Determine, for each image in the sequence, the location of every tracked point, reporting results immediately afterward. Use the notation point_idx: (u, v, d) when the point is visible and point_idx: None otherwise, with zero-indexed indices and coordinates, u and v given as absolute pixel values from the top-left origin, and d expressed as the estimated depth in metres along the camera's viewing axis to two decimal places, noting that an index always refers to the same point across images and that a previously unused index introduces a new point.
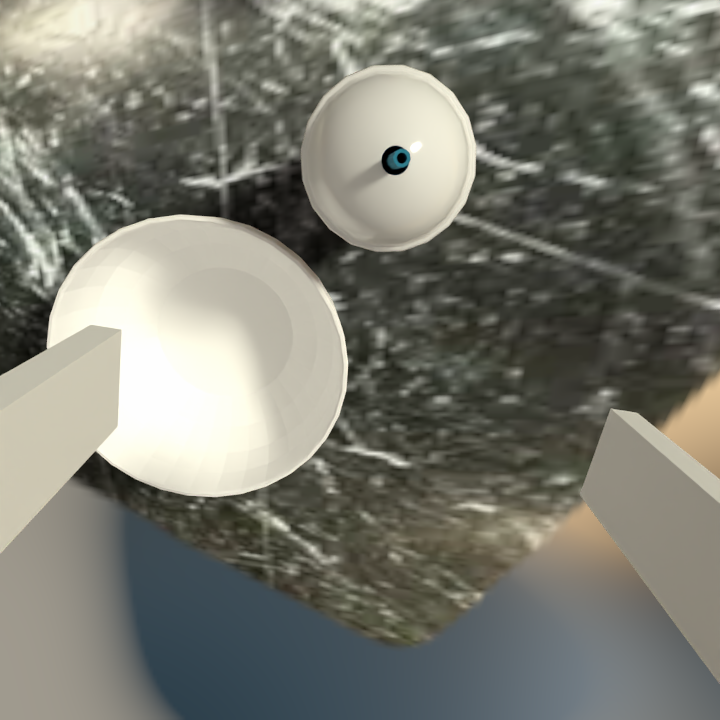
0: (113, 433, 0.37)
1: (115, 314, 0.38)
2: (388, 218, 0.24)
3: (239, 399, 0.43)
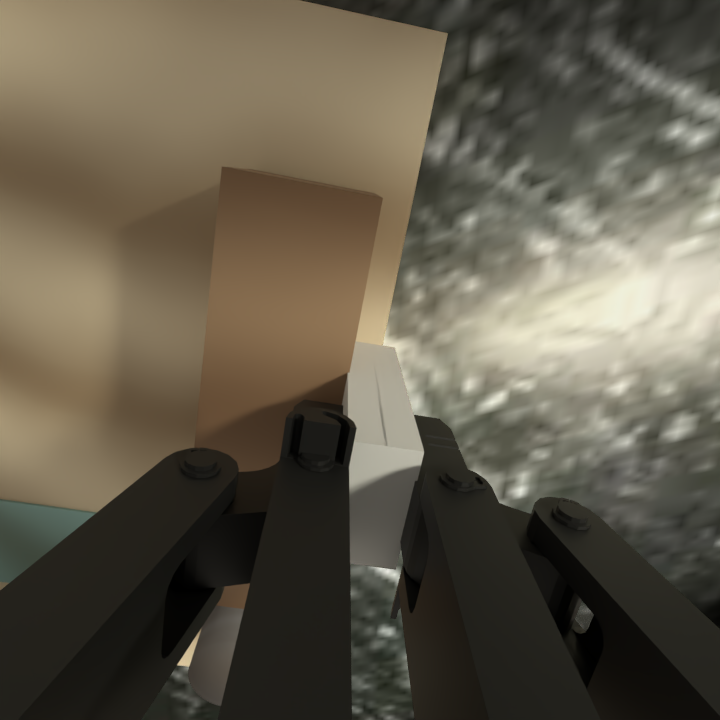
0: None
1: None
2: None
3: None
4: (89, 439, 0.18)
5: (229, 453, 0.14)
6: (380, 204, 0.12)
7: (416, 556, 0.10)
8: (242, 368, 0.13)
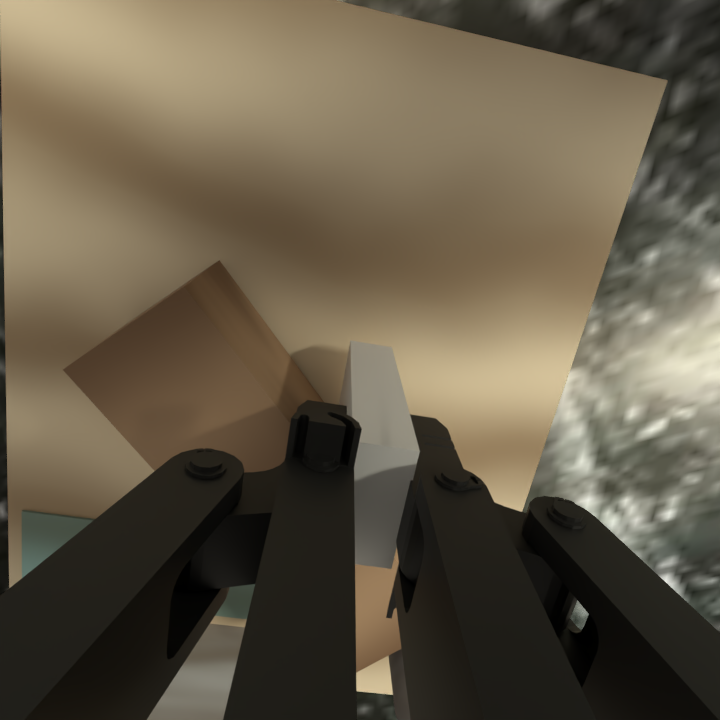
0: None
1: None
2: None
3: None
4: None
5: None
6: (186, 292, 0.12)
7: (411, 556, 0.10)
8: None
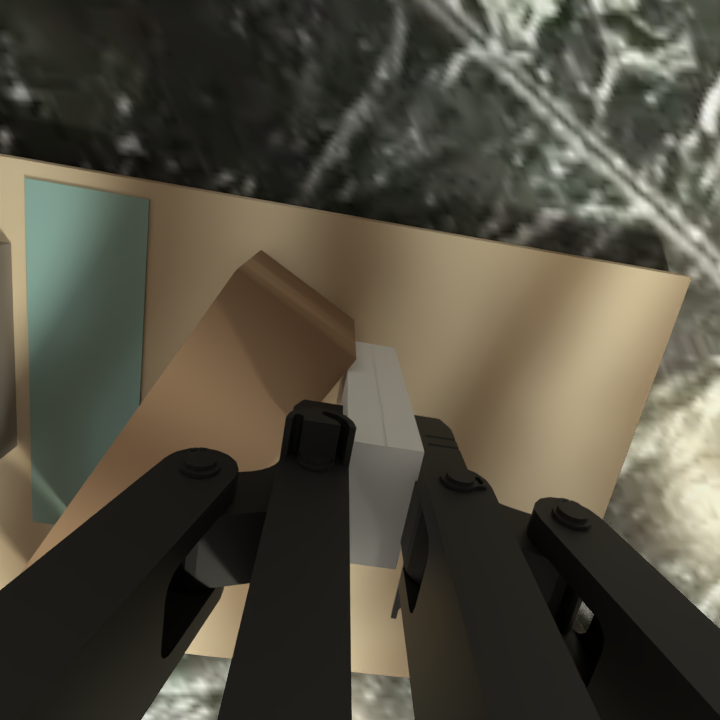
0: None
1: None
2: None
3: None
4: None
5: None
6: (351, 363, 0.13)
7: (416, 556, 0.10)
8: (166, 433, 0.14)
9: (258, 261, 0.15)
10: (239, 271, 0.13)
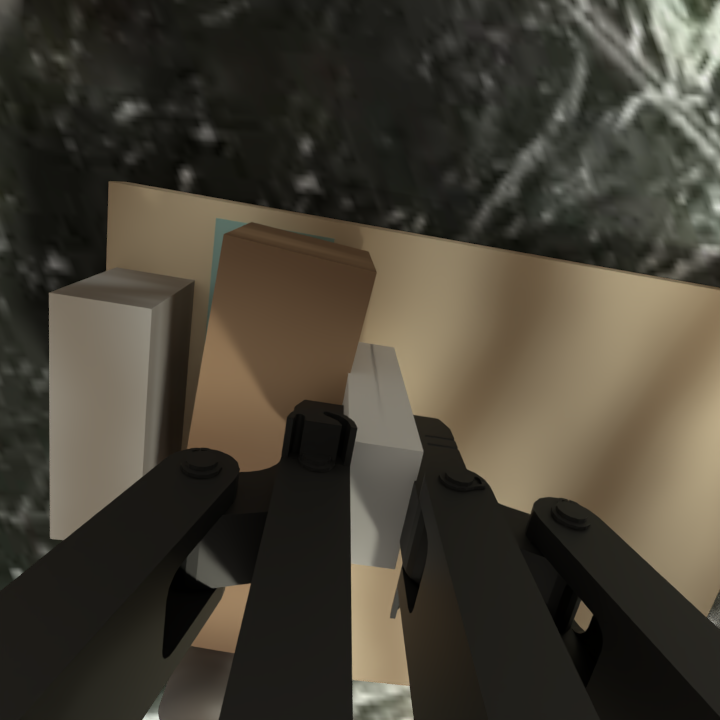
0: None
1: None
2: None
3: None
4: None
5: None
6: (374, 278, 0.13)
7: (415, 556, 0.10)
8: (230, 422, 0.14)
9: (249, 227, 0.14)
10: (228, 234, 0.12)
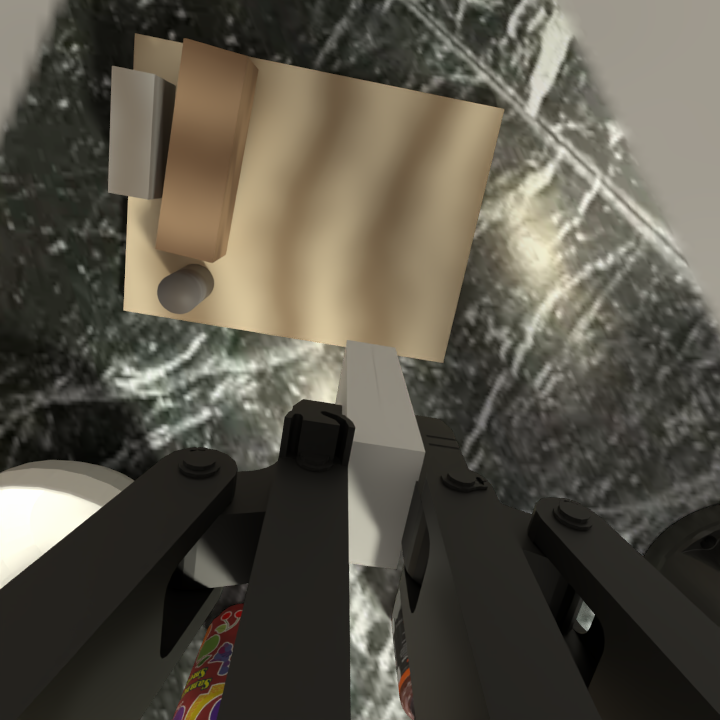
0: None
1: None
2: None
3: (29, 540, 0.46)
4: (272, 204, 0.37)
5: (181, 170, 0.32)
6: (246, 58, 0.30)
7: (417, 556, 0.10)
8: (188, 128, 0.31)
9: None
10: (185, 38, 0.30)
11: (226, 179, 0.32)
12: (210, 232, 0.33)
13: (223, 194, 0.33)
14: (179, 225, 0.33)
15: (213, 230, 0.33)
